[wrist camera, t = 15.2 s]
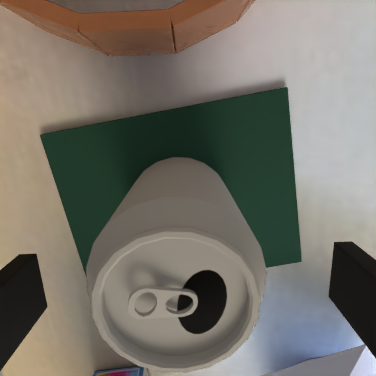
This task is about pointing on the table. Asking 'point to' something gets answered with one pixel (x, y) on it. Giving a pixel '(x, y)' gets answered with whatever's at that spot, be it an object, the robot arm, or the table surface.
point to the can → (176, 271)
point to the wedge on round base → (333, 365)
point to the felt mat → (187, 148)
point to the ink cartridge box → (123, 372)
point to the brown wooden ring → (134, 25)
